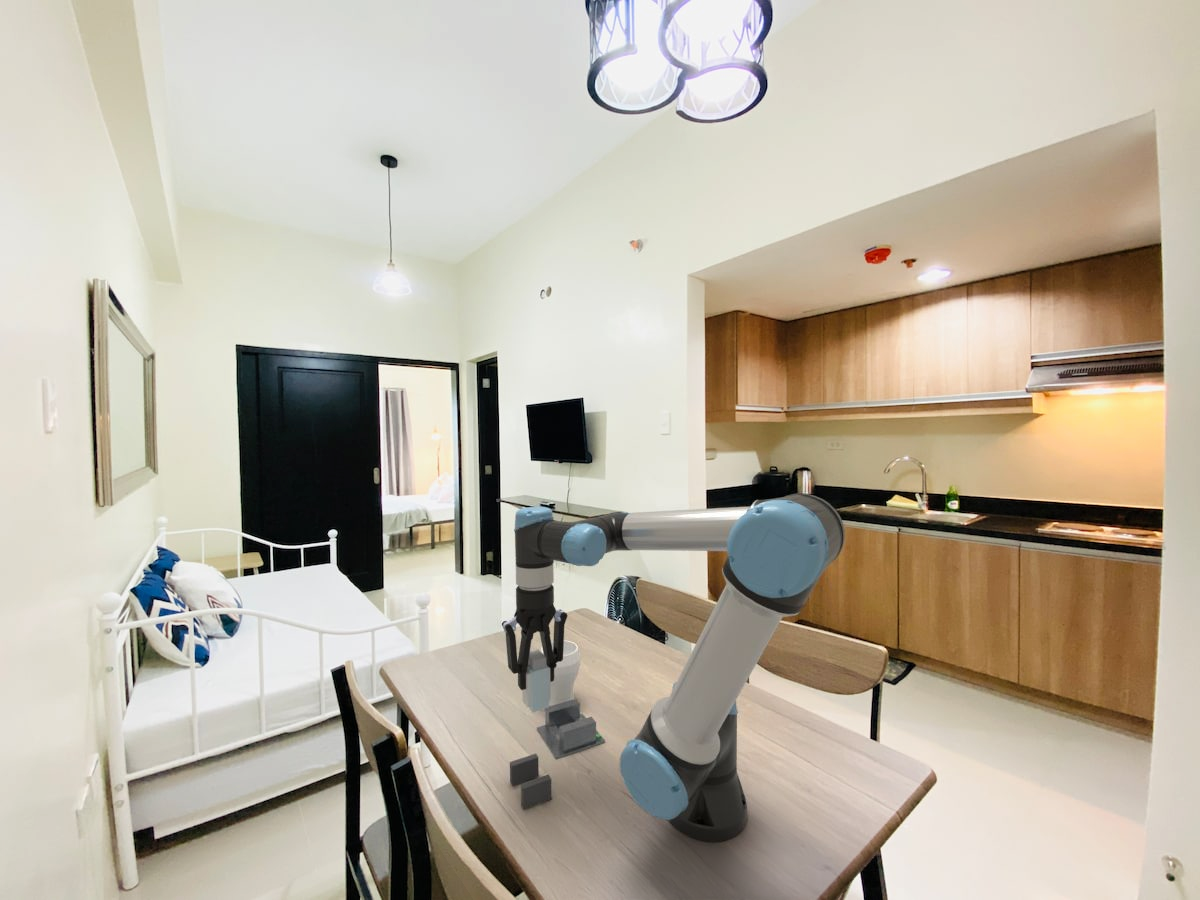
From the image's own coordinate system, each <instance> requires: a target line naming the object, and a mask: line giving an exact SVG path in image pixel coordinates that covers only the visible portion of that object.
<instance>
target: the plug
mask: <svg viewBox="0 0 1200 900" xmlns="http://www.w3.org/2000/svg"><path fill="white" fill-rule="evenodd" d="M527 671H528V672H529V673H530V683H531V707H528V709H529V710H530V711H531V713H536V712H539V711H543V710H545V708H549V668H548V667H547V666H546V657H545V656H544V655H543V654H542V653H541V650H540V649H536V650H530V654H529V660H528V667H527Z"/></svg>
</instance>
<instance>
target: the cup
mask: <svg viewBox="0 0 1200 900" xmlns="http://www.w3.org/2000/svg"><path fill="white" fill-rule="evenodd" d="M551 644H552V649H553V641H552V640H551ZM540 652H541V653H542V654H543V655H544V653H543V648H542V647H541V648H540ZM556 664H557V666H556V668H554V681H552V682H550V687H551V700H550V701H549V706H553V705H556V704H560V703H563V702H566V701H570V700H573V699H575V694H574V686H575V685H574V684H575V681H576V679H577V677H578V674H579V671H580V668H581V655H580V650H579V647H578V645H577V644H576V643H575V642H573V641H570V640H565V639H564V647H563V660H562V661H561V662H559V661H558V662H557V663H556Z"/></svg>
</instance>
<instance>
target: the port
mask: <svg viewBox="0 0 1200 900" xmlns="http://www.w3.org/2000/svg"><path fill="white" fill-rule="evenodd" d="M544 714H545V715H544V717H545V718H544V719H545V723H544V724H543V725H540V726H538V727H536V730H537V732H538V734H539V735H540V737H541V738H542V740H543V742H545V745H546V746H547V747H548V749H549V751H550V752H551V753H552V755H553V757H554V758H555V760H558V759H561V758H563V757H567V756H570V755H573V754H575V753H578V752H581V751H584V750H588V749H590V748H593V747H596V746H599V745H601V744H605V743H606V739H605V738H604V737H603V735H602V734H600V733H599V731H598V730H597V721H596V720H595V719H594V718H593V717H592V716H589V717H586V716H585V715H584V714H583V713H581V704H580V702H579V701H578V699H576V698H574V699H573V700H570V701H566V702H563V703H560V704H556V705H553V706H549V708H545V709H544Z"/></svg>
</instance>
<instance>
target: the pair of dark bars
mask: <svg viewBox="0 0 1200 900" xmlns="http://www.w3.org/2000/svg"><path fill="white" fill-rule="evenodd" d="M539 762H540V761H539V756H538V754H537V753H532V754H530V755H527V756H524V757H520V758H518V759H515V760H512V761H509V782H510V784H511V786H512V787H514V786H516V785H519V784H520V805H521V808H522V809H523V811H524V810H526V809H529V808H532V807H535V806H537V805H540V804H542V803H545V802H547V801H550V800H552V797H553V796H552V777H551V776H550V774H549V773H548V774H546V775H542V776H540V777H539V773H540V772H539V771H540V770H539V766H540V764H539Z"/></svg>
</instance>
